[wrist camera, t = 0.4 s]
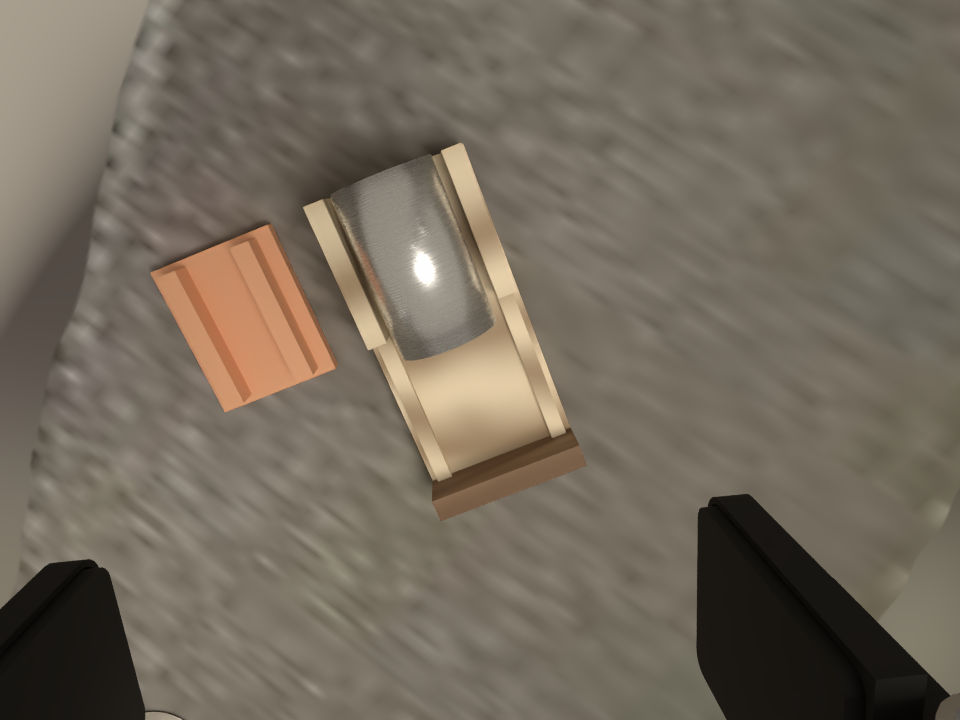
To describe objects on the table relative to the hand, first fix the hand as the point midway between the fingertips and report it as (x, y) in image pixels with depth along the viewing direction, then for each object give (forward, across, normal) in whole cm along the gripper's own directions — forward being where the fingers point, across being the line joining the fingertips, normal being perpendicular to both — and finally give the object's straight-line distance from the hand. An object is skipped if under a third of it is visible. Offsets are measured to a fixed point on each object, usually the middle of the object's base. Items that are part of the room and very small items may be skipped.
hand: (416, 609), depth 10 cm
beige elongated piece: (+34, -1, +3) cm, 34 cm away
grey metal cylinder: (+32, +1, -2) cm, 32 cm away
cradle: (+34, +12, +1) cm, 36 cm away
